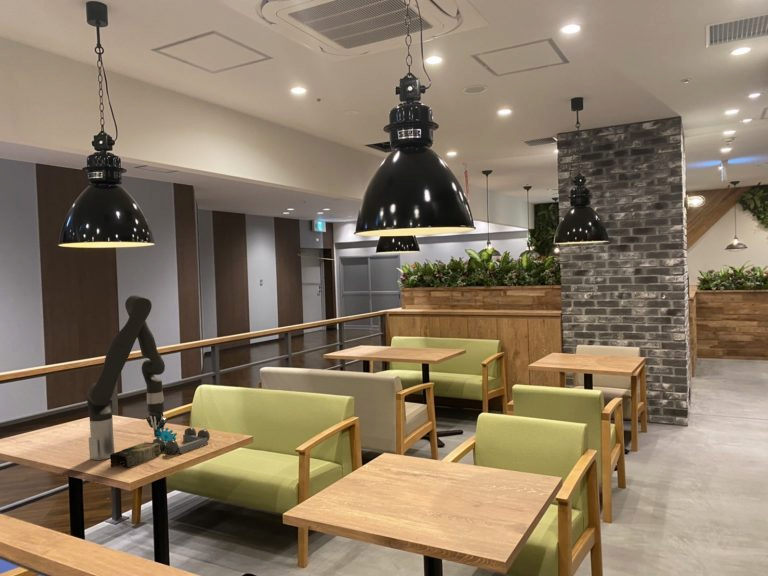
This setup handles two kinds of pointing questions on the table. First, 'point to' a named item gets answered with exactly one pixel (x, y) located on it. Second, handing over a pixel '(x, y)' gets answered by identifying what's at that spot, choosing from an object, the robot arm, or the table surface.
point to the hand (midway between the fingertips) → (157, 436)
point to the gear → (166, 435)
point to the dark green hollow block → (135, 454)
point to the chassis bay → (189, 437)
